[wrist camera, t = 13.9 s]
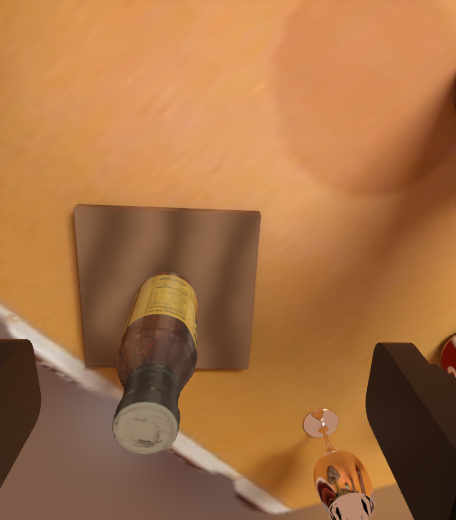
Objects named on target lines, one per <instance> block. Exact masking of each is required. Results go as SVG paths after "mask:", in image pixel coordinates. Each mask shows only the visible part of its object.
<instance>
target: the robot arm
mask: <svg viewBox="0 0 456 520" xmlns="http://www.w3.org/2000/svg"><path fill="white" fill-rule="evenodd" d="M455 103H456V89H455ZM40 407H41V392H40V386H39V380H38V374H37V368H36V362H35V355H34V349H33V346H32V343H31V342H30V340H28V339H0V488H1V486H2V484H3V482H4V480H5V479H6V477H7V475H8V473H9V471H10V469H11V468H12V466H13V464H14V462H15V460H16V458H17V457H18V455H19V453H20V451H21V449H22V448H23V445H24V444H25V442H26V440H27V439H28V437H29V435H30V433H31V431H32V430H33V428H34V426H35V424H36V422H37V419H38V416H39V413H40ZM366 413H367V418H368V421H369V424H370V426H371V429H372V431H373V433H374V435H375V437H376V439H377V441H378V444H379V446H380V448H381V450H382V452H383V454H384V456H385V458H386V461H387V463H388V465H389V467H390V469H391V471H392V473H393V475H394V478H395V480H396V482H397V484H398V486H399V488H400V490H401V493H402V494H403V497H404V499H405V501H406V503H407V505H408V507H409V510H410V512H411V514H412V516H413V518H414V520H456V377H454V376H453V375H451V374H450V373H448V372H447V371H445V370H444V369H442V368H441V367H439V366H438V365H436V364H429V363H428V361H427V360H426V359H425V358H424V356H423V355H422V354H421V353H420V351H419V350H418V349H417V348H416V346H415V345H414V344H412V343H377V345H376V346H375V349H374V352H373V358H372V364H371V370H370V376H369V381H368V387H367V393H366Z"/></svg>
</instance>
